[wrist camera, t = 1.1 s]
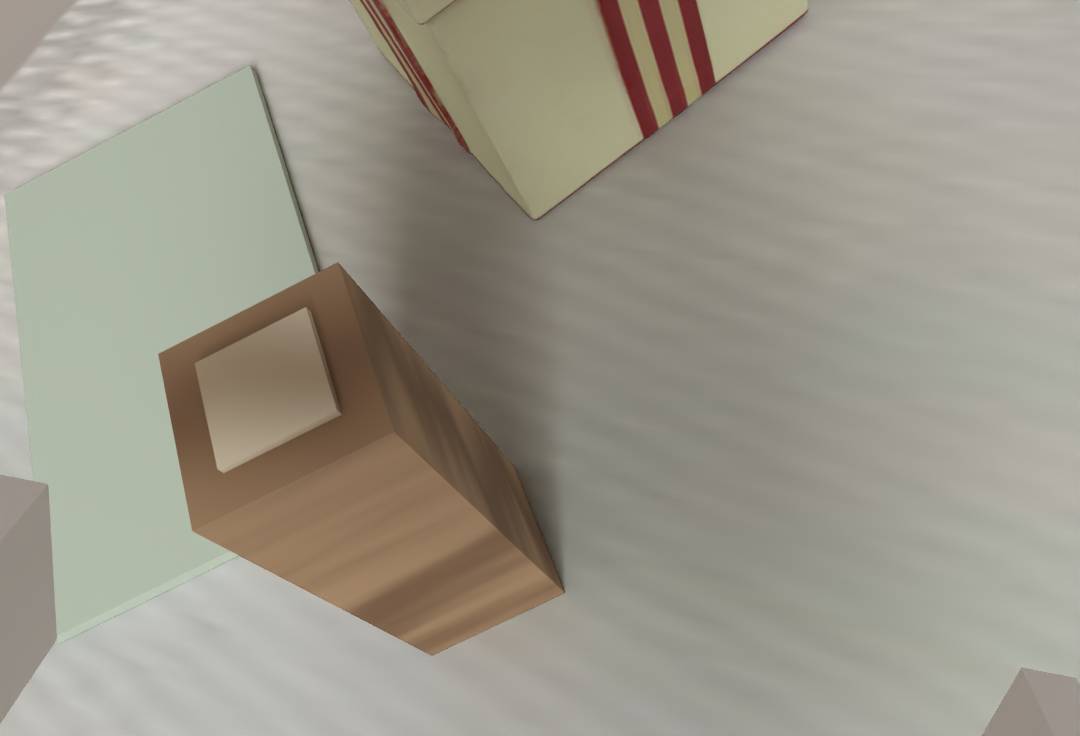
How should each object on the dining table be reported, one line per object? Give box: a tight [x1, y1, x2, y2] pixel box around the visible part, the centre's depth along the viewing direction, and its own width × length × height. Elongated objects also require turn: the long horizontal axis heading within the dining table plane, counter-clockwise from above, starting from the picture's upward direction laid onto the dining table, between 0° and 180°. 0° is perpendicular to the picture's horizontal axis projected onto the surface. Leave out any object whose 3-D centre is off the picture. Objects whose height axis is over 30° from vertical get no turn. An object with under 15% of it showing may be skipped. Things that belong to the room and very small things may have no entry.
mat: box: [4, 65, 319, 642], centre depth 44 cm, size 24×14×1 cm, turn 22°
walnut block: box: [158, 263, 565, 656], centre depth 29 cm, size 5×5×14 cm
